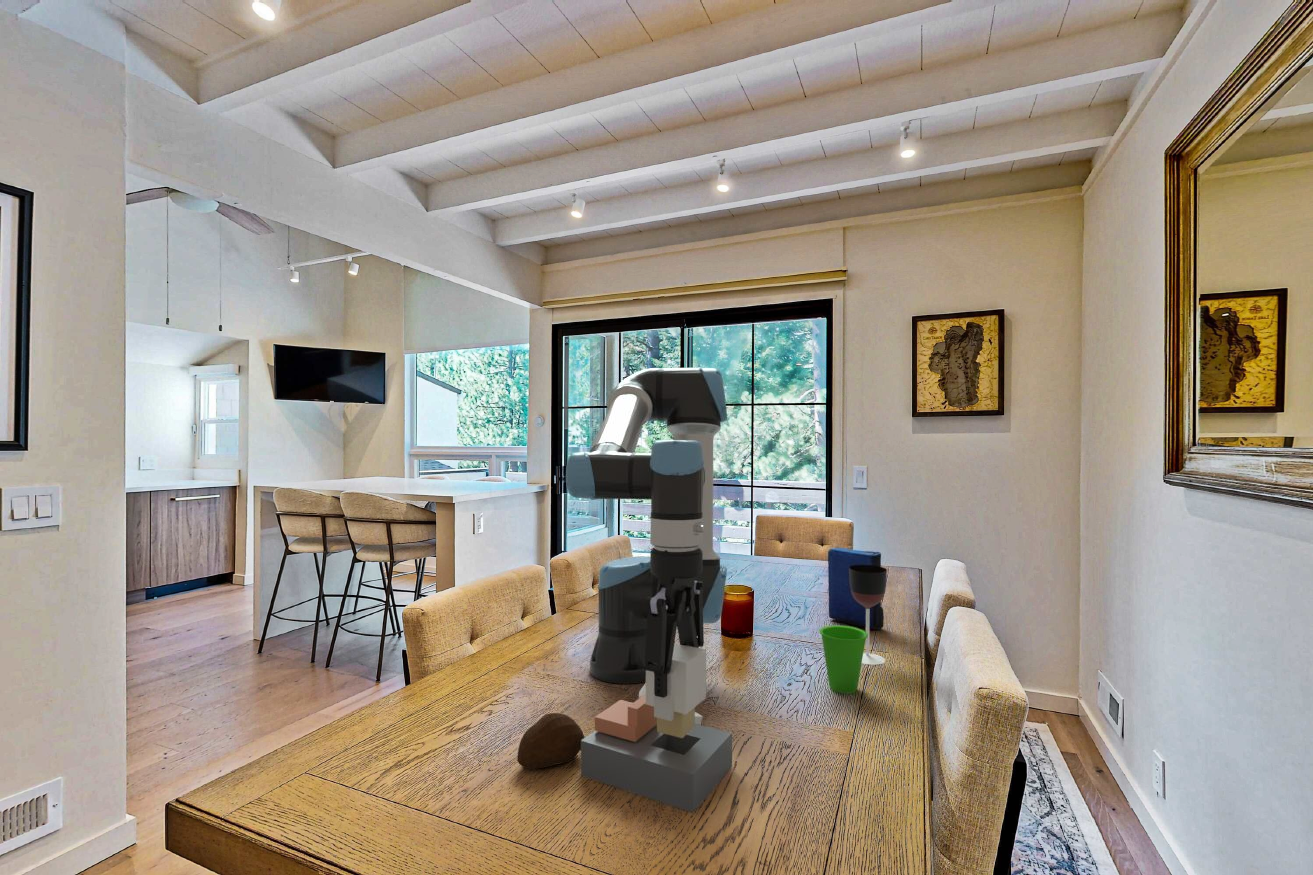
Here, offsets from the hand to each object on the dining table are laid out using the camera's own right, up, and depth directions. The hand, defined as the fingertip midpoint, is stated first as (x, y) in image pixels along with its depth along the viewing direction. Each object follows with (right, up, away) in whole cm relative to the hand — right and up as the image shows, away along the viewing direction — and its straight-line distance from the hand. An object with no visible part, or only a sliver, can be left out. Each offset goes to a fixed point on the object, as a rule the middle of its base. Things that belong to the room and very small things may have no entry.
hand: (675, 708), depth 88 cm
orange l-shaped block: (-7, -5, +4) cm, 9 cm away
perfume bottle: (-1, -10, +14) cm, 17 cm away
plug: (0, -3, 0) cm, 3 cm away
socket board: (-3, -10, +2) cm, 10 cm away
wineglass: (+44, -11, +49) cm, 67 cm away
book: (+50, -11, +74) cm, 90 cm away
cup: (+34, -10, +32) cm, 48 cm away
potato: (-19, -10, +4) cm, 22 cm away
